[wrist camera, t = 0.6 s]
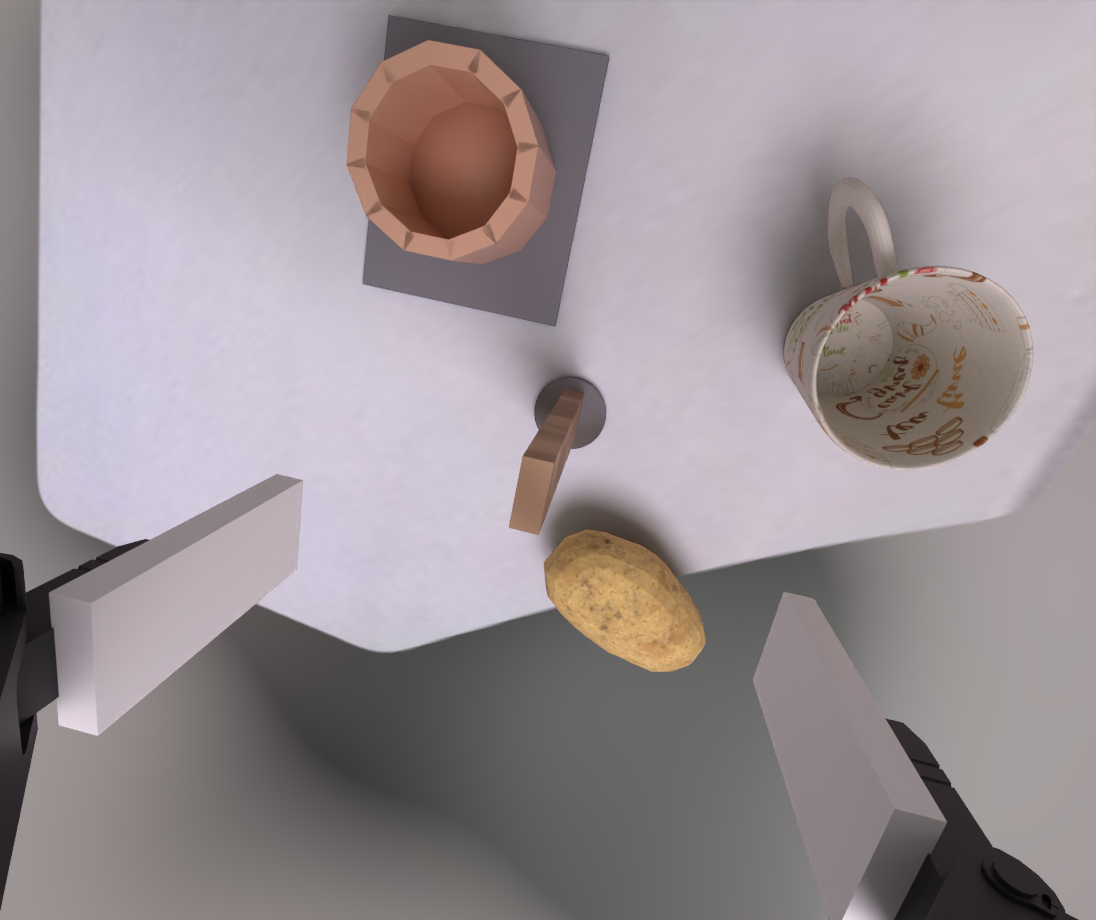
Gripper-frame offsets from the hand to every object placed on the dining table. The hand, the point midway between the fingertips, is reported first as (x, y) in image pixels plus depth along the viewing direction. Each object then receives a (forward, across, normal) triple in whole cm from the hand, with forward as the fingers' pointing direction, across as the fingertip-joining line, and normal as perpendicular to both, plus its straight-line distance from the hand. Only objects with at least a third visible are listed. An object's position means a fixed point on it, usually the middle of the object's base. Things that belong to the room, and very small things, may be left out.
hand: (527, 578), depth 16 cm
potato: (+22, +5, -10) cm, 25 cm away
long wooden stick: (+22, -1, 0) cm, 22 cm away
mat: (+22, -9, +12) cm, 26 cm away
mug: (+22, +12, +9) cm, 27 cm away
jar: (+21, -9, +12) cm, 26 cm away
